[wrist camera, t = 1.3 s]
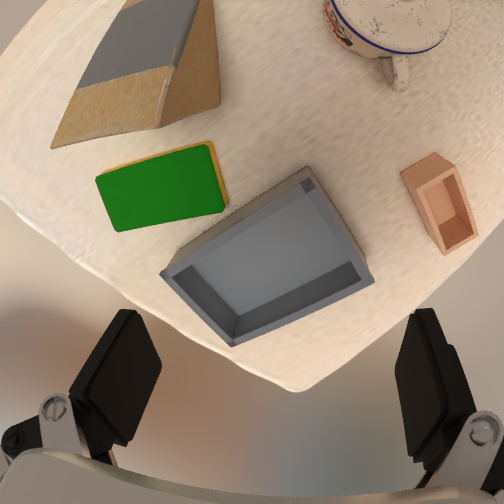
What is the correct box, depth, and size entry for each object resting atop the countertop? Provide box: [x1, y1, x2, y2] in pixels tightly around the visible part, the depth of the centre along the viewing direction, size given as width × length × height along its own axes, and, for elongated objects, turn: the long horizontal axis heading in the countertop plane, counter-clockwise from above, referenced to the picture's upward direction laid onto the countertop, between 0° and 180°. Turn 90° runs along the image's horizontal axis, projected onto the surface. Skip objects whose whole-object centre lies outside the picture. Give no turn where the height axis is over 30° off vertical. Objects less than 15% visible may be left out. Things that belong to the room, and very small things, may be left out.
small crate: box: [400, 153, 479, 256], centre depth 27 cm, size 4×8×5 cm, turn 37°
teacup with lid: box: [323, 0, 452, 92], centre depth 17 cm, size 12×9×12 cm
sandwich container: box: [50, 0, 220, 149], centre depth 18 cm, size 9×15×15 cm, turn 4°
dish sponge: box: [95, 141, 228, 232], centre depth 32 cm, size 7×14×2 cm, turn 103°
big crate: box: [159, 166, 375, 347], centre depth 33 cm, size 18×12×5 cm
